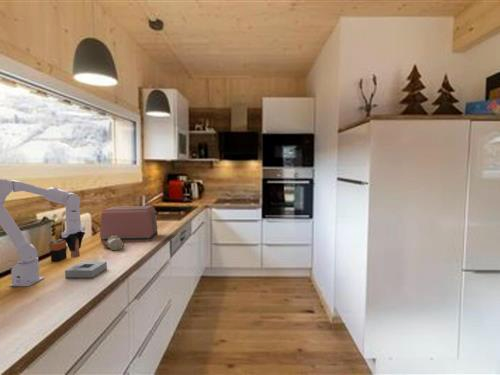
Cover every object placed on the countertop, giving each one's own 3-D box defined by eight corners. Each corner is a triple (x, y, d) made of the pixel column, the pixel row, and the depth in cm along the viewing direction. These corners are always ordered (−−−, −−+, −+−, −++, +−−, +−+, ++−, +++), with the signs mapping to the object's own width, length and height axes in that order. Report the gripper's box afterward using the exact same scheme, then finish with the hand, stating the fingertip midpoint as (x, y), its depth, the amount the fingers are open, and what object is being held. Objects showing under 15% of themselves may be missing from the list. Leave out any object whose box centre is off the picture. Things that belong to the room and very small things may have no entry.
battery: (67, 257, 166) (65, 238, 165) (59, 261, 159) (58, 242, 158) (58, 257, 166) (57, 238, 165) (50, 261, 159) (49, 242, 158)
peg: (76, 257, 141) (75, 240, 140) (69, 257, 141) (67, 240, 140) (81, 255, 144) (80, 238, 144) (74, 255, 144) (73, 238, 144)
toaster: (154, 241, 196) (153, 209, 195) (99, 243, 195) (97, 210, 193) (161, 234, 215) (160, 205, 214) (111, 236, 214) (109, 206, 212)
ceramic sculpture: (106, 237, 173) (101, 233, 185) (107, 252, 173) (102, 248, 185) (126, 234, 179) (120, 231, 191) (127, 249, 179) (121, 245, 191)
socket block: (92, 278, 134) (91, 270, 134) (65, 278, 135) (64, 270, 135) (106, 269, 146) (106, 261, 146) (82, 268, 147) (81, 261, 147)
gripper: (71, 222, 134) (73, 254, 135) (90, 216, 148) (92, 245, 149) (55, 223, 134) (58, 254, 135) (76, 217, 149) (78, 245, 150)
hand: (75, 249), depth 142 cm, fingers closed on peg, 3 cm apart
